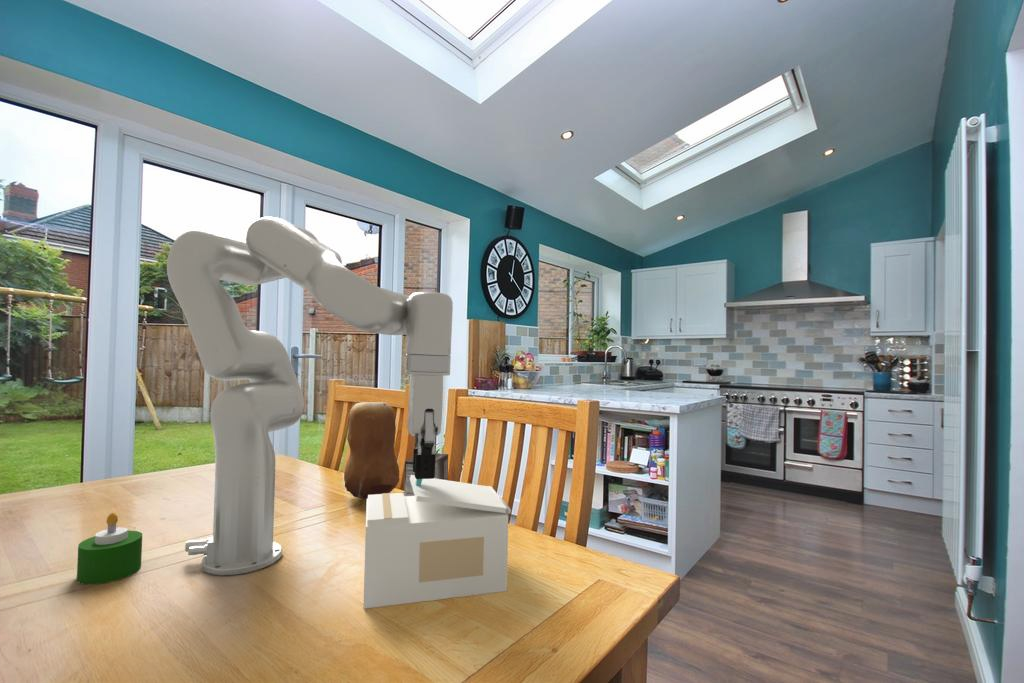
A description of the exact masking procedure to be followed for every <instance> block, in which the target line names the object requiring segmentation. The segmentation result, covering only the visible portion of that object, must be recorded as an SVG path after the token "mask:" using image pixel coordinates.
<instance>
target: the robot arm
mask: <svg viewBox="0 0 1024 683" xmlns="http://www.w3.org/2000/svg"><path fill="white" fill-rule="evenodd" d="M244 237H245V239H241V238H238V237H234V236H232V235H229V234H225V233H223V232H220V231H216V230H215V231H214V230H211V229H210V230H209V229H201V228H200V229H191V230H187V231H186V232H183V233H181V234H180V235H178V237H177V238H176V239H175V240H174V241H173V243H172V245H171V247H170V249H169V251H168V254H167V260H166V273H167V278H168V282H169V284H170V287H171V290H172V292H173V294H174V296H175V298H176V301H178V302H177V303H179V306H180V308H181V310H182V312H183V314H184V316H185V320H186V322H187V325H188V329H189V332H190V335H191V337H192V341H193V342H194V345H195V348H196V351H197V354H198V358H199V359H200V362H201V365H202V367H203V370H204V371H205V373H206V375H208V376H209V377H210V378H212V379H214V380H218V381H224V382H225V381H242V380H248V381H249V383H247V382H246V383H239V384H236V385H232V386H230V387H227V388H225V389H223V390H222V391H220V393H218V394H217V396H216V397H215V398H214V400H213V402H212V404H211V408H210V423H211V430H212V433H213V441H214V453H215V454H214V456H215V457H214V459H215V460H214V462H215V463H214V465H215V467H214V469H215V470H214V492H213V493H214V497H213V503H214V504H213V525H212V526H213V527H212V528H213V529H212V536H208V537H207V538H206V539H205V538H204V539H200V538H199V539H197V538H196V539H188V540H187V541H186V542H185V545H184V546H185V547H184V551H185V552H187V554H188V556H197V555H203V558H202V559H201V564H200V565H201V569H202V570H203V571H204V572H205V573H208V574H210V575H216V576H232V575H241V574H247V573H251V572H252V573H253V572H255V571H258V570H261V569H264V568H266V567H269V566H270V565H273V564H274V563H276V562H277V561H278V560H279V559H281V557H282V555H283V547H282V545H281V544H280V543H278V542H277V541H274V525H275V524H274V522H275V498H276V497H275V496H276V494H275V493H276V491H275V490H276V454H275V453H276V452H275V448H274V446H273V443H272V440H271V439H270V436H269V433H271V432H277V431H279V430H283V429H286V428H289V427H292V426H294V425H295V424H296V423H297V422H298V421H299V420H300V419H301V418H302V416H303V413H304V410H305V400H304V399H305V398H304V395H303V392H302V389H301V388H302V387H301V386H300V385H301V384H300V383H299V380H298V378H297V375H296V373H295V370H294V367H293V364H292V362H291V359H290V357H289V354H288V352H287V349H286V347H285V346H284V344H283V343H282V342H281V341H280V339H278V337H276V336H275V335H274V334H271V333H269V332H265V331H260V330H250V329H249V328H248V327H247V326H246V324H245V322H244V320H243V318H242V315H241V313H240V309H239V306H238V304H237V303H236V300H234V298H233V297H232V295H231V294H230V293H229V292H228V291H227V290H226V288H225V287H224V285H223V284H222V283H221V281H225V282H231V283H235V284H240V285H247V286H255V285H261V284H266V283H269V282H274V281H275V282H276V281H279V280H282V279H283V280H284V279H286V278H287V279H289V280H290V281H291V282H293V283H294V284H296V285H298V286H299V287H301V288H302V289H304V290H306V291H307V292H308V294H309V295H310V296H311V297H312V298H313V299H314V301H315V302H317V304H318V305H320V306H321V307H322V308H323V309H325V310H327V312H329V313H330V314H332V315H334V316H335V317H337V318H338V319H340V320H342V321H343V322H345V323H346V324H348V325H350V326H352V327H354V328H355V329H356V330H359V331H362V332H364V333H368V334H379V335H387V336H399V335H400V336H402V335H406V337H405V343H406V344H405V358H404V359H405V362H404V374H405V375H410V380H409V381H410V382H409V392H408V407H407V423H406V427H407V428H406V429H407V431H408V433H409V435H410V436H411V437H414V448H413V455H412V458H413V472H414V473H415V478H416V479H433V478H434V477H435V458H436V454H437V453H436V437H437V436H439V435H440V434H441V431H442V422H443V404H444V403H443V401H444V376H450V375H451V361H452V360H451V359H452V358H451V357H452V356H451V355H452V354H451V353H452V335H453V334H452V332H453V330H452V328H453V308H454V307H453V304H454V303H453V299H452V297H451V296H450V295H448V294H446V293H443V292H435V291H417V292H413V293H412V294H410V295H408V294H403V293H398V292H397V291H396V292H395V291H393V290H389V289H386V288H382V287H380V286H377V285H376V284H374V283H372V282H370V281H368V280H367V279H365V278H363V277H362V276H360V275H358V274H357V273H355V272H353V271H352V270H350V269H349V268H347V267H346V266H345V265H344V264H343V262H342V261H343V260H342V257H341V255H340V254H339V253H338V252H337V251H335V250H334V249H332V248H331V247H329V246H327V245H325V244H323V243H322V242H320V241H319V239H318V238H317V237H316V236H315V235H314V234H313V233H312V232H310V231H309V230H307V229H305V228H302V227H300V226H299V225H295V224H294V223H292V222H289V221H287V220H284V219H282V218H279V217H273V216H264V217H260V218H257V219H255V220H254V221H252V222H251V223H250V224H249V225H248V227H247V228H246V231H245V236H244Z"/></svg>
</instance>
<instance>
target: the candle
mask: <svg viewBox="0 0 1024 683" xmlns="http://www.w3.org/2000/svg"><path fill="white" fill-rule="evenodd" d="M118 520H119V518H118V515H117V514H116V513H115V512H110V514H109V515H108V516H107V517H106V525H107V529H103V530H99V531H98V532H96V533H95V534H94V536H92V537H89V538H87V539H84V540H82V541H81V542H80V543H79V544H78V547H77V567H76V582H77V581H78V582H80V583H79V584H81V583H83V584H82V585H88V584H90V585H100V584H106V583H112V582H115V581H119V580H122V579H125V578H127V577H130V576H132V575H133V574H136V573H137V572H139V570H141V568H142V557H143V556H142V555H143V554H142V553H143V533H142V532H140V531H137V530H129V528H127V527H122V526H120V527H117V523H118ZM78 582H77V583H78Z"/></svg>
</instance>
